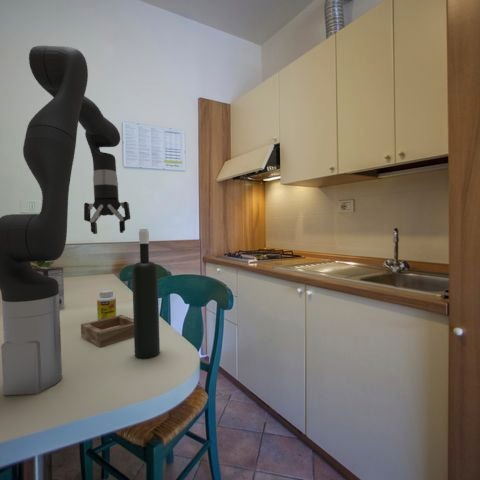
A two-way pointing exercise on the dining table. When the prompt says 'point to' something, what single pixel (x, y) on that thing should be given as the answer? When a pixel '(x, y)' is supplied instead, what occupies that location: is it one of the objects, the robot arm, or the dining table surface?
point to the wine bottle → (145, 302)
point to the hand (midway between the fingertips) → (108, 233)
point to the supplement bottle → (106, 305)
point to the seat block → (108, 330)
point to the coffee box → (58, 275)
